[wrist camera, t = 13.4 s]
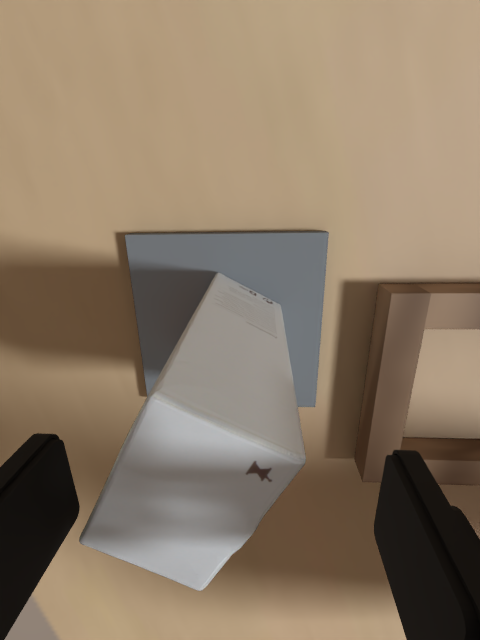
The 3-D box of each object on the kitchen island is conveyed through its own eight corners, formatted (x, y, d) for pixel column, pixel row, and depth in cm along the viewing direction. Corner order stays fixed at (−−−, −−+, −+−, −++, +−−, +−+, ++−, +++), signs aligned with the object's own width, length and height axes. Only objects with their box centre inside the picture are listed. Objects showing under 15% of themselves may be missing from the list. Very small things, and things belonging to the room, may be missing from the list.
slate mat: (325, 230, 18) (328, 232, 17) (313, 399, 22) (315, 406, 21) (130, 233, 19) (124, 234, 18) (152, 397, 23) (148, 404, 22)
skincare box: (216, 269, 18) (150, 386, 7) (282, 303, 19) (316, 462, 8) (173, 354, 20) (71, 547, 9) (234, 383, 21) (206, 599, 10)
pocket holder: (607, 282, 18) (647, 293, 16) (536, 463, 23) (560, 487, 21) (378, 283, 19) (391, 293, 17) (354, 459, 24) (362, 481, 22)
